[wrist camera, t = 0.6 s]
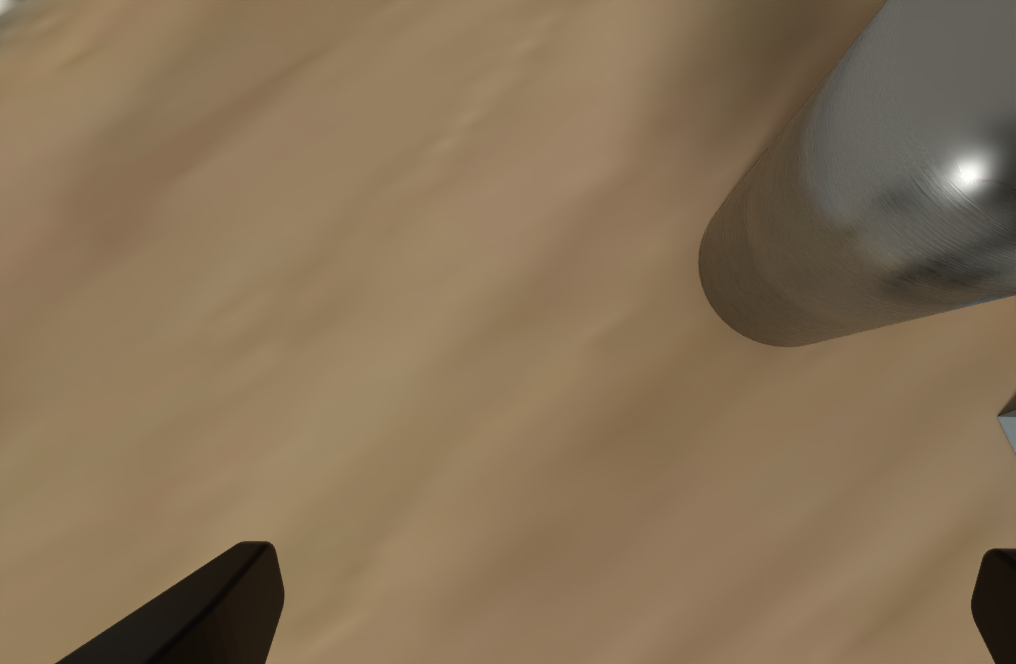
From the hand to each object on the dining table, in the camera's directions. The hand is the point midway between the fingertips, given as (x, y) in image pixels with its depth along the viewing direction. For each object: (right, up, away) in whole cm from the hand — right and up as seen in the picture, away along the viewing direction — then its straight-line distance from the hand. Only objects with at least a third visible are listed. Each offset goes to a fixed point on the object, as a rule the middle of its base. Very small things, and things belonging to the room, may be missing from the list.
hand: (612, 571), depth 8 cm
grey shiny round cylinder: (+8, +5, +13) cm, 16 cm away
